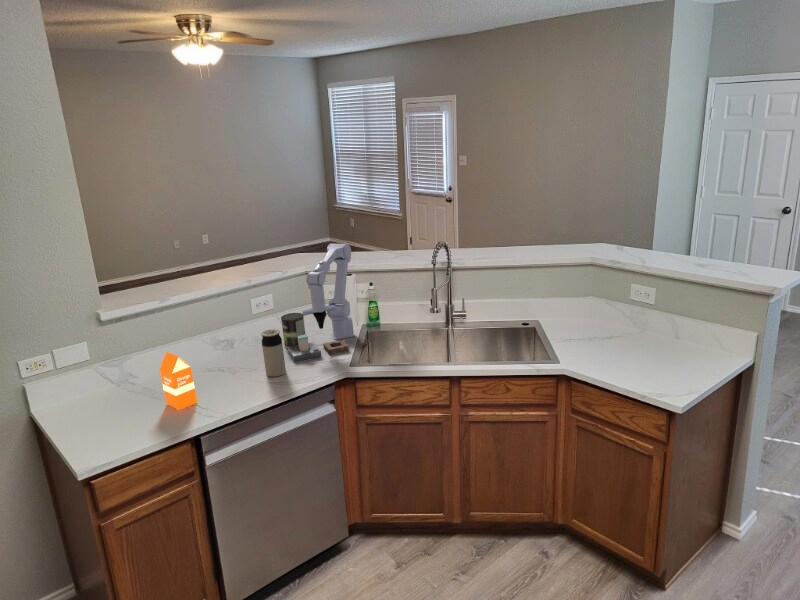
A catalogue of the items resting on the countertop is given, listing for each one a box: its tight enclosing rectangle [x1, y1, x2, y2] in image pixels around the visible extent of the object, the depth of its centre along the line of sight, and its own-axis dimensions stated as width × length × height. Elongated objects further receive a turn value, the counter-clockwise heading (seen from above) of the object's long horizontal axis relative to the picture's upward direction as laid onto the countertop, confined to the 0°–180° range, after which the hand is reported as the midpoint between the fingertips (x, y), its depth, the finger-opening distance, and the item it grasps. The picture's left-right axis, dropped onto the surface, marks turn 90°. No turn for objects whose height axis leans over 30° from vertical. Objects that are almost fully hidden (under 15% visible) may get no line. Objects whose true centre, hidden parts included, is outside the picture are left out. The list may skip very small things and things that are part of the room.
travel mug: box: [260, 328, 287, 378], centre depth 233 cm, size 8×8×18 cm
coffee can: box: [280, 312, 306, 349], centre depth 263 cm, size 10×10×14 cm
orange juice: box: [159, 351, 198, 411], centre depth 211 cm, size 8×9×20 cm
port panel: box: [287, 342, 322, 364], centre depth 252 cm, size 12×12×3 cm
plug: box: [297, 333, 309, 352], centre depth 251 cm, size 4×4×9 cm
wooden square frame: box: [322, 339, 350, 356], centre depth 256 cm, size 9×9×2 cm
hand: (321, 328), depth 254 cm, fingers closed
